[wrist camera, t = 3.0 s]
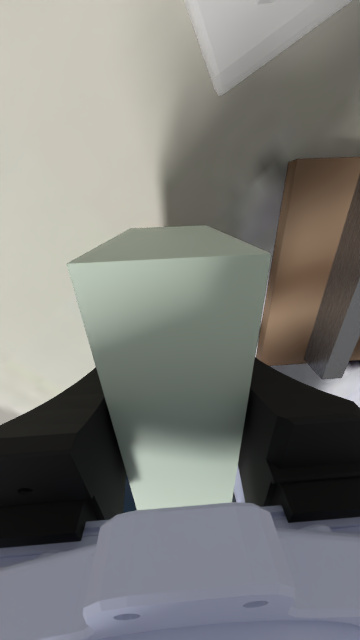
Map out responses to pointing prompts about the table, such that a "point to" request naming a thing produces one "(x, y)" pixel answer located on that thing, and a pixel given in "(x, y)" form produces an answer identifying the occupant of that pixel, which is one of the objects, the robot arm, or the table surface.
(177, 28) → the table surface
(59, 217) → the table surface
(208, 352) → the pale green foam block
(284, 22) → the light switch
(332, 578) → the robot arm
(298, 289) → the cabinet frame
